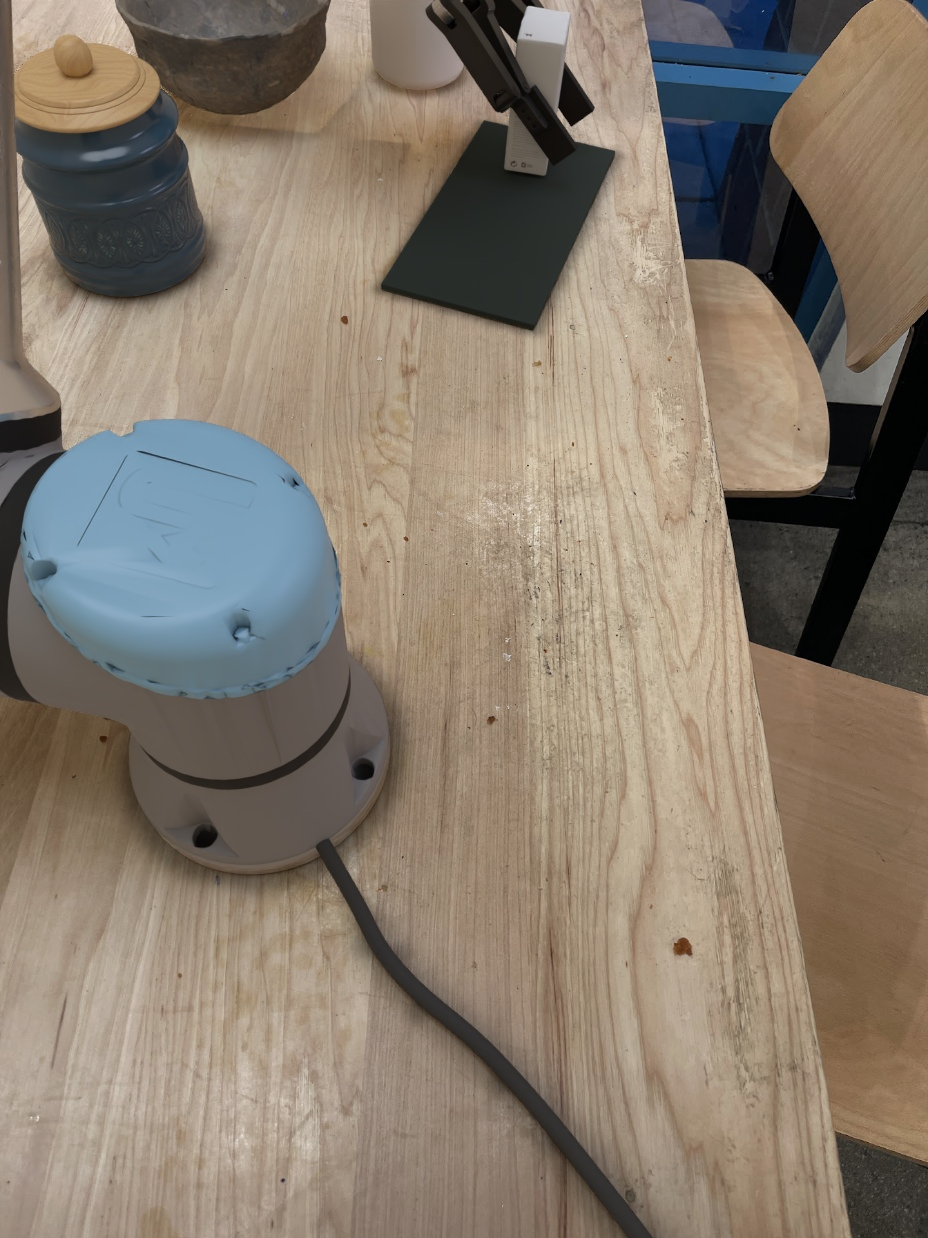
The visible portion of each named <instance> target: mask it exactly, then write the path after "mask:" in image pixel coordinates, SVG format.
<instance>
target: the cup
mask: <svg viewBox="0 0 928 1238" xmlns="http://www.w3.org/2000/svg"><path fill="white" fill-rule="evenodd" d="M433 1H434V0H368V3H369V21H370V23H369V24H370V42H371V43H370V44H371V46H370V47H371V61H372V65H373V67H374V69H375V71H376V72H377V74H378V75H379V76H380V77H381V78H382V79H383V80H385V82H387V83H389V84H391V85H393V86H395V87H398V88H401V89H405V90H411V91H430V90H436V89H439V88H443V87H445V86H446V85H449V84H450V83H452V82H453V81H455V80H456V79H457V78H458V77H459V76H460V75H461V74H462V71H463V69H464V67H465V66H464V64H463V63H462V61H461V60H460V58H459V57H458V55H457V54H456V52H455V51H454V49H453V48H452V46H451V45H450V43H449V42H448V40H447V39H446V37H445V36H444V34H443V33H442V32H441V31H440V30H439V29H438V28H437V27H436V26H435V25H434V24H433V23H432V22H431V21H430V20H429V18H428V17H427V15H426V12H425V9H426V8H427V7H428V6H429V5H430V4H431V3H432V2H433Z"/></svg>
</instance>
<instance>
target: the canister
mask: <svg viewBox="0 0 928 1238" xmlns="http://www.w3.org/2000/svg"><path fill="white" fill-rule="evenodd" d="M53 44H54V45H53V47H50V48H46V49H44V50H42V51H40V52H38V53H36V54H34V55H32V56H31V57H29V58H28V59H27V60H26V61H25V62H23V64H22V65H21V67H20V68H19V69H18V70H17V71H16V72H14V89H15V119H16V149H17V154H18V155H20V156H21V158H22V163H21V176H22V179H23V182H24V184H25V186H26V187H27V188H28V190H29V191H30V193H31V195H32V199H33V200H34V203H35V205H36V207H37V210H38V213H39V216H40V217H41V221H42V222H43V225H44V228H45V229H46V230H45V231H46V232H47V235H48V242H49V246H50V248H51V251H52V252H53V255H54V259H55V260H56V262H57V263H58V264H59V266H60V267H61V268H62V270H63V271H64V273H65V275H66V276H67V277H68V278H69V280H71V281H72V283H74V284H75V285H77V286H79V287H80V288H82V289H84V290H86V291H89V292H92V293H94V294H99V295H103V296H109V297H123V298H124V297H125V298H126V297H139V296H140V297H141V296H146V295H151V294H155V293H158V292H161V291H163V290H167V289H169V288H171V287H173V286H176V285H178V284H179V283H182V281H184V280H185V279H187V278H188V277H189V276H191V275H192V274H193V273H194V272H195V271H196V270H197V269H198V268H199V266H200V265H201V263H202V262H203V259H204V257H205V254H206V250H207V246H206V245H207V243H206V237H207V230H206V225H205V221H204V216H203V214H202V211H201V209H200V208H199V203H198V200H197V196H196V192H195V187H194V183H193V178H192V175H191V170H190V165H189V163H190V162H189V161H190V157H189V151H188V148H187V146H186V143H185V142H184V140H183V139H182V137H180V135H179V134H178V133H177V129H178V125H179V122H180V113H179V108H178V106H177V104H176V102H175V100H174V98H173V97H172V96H171V95H170V94H169V92H167V91H166V90H164V89H163V88H161V85H160V80H159V77H158V74H157V73H156V71H155V70H154V68H153V67H152V66H151V65H149V64H148V63H147V62H145V61H144V60H142V59H140V58H138V56H136V55H133V54H131V53H128V52H127V51H125V50H123V49H121V48H119V47H117V46H113V45H109V44H104V43H100V42H99V43H97V42H85V41H84V40H83V39H82V38H81V37H79V36H77V35H74V34H63V35H61V36H59V37H58V38H57V39H56V40H55V41H54V43H53Z"/></svg>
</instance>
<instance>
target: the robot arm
mask: <svg viewBox="0 0 928 1238" xmlns="http://www.w3.org/2000/svg"><path fill="white" fill-rule="evenodd" d="M12 2H13V1H12V0H0V697H2V698H6V699H10V700H11V699H12V700H15V701H21V702H29V703H34V704H39V705H43V706H48V707H53V708H58V709H62V710H66V711H72V712H76V713H81V714H86V715H89V716H93V717H98V718H104V719H108V720H112V721H115V722H117V723H120V724H123V725H124V726H126V727H127V729H128V730H129V732H130V735H129V746H128V768H129V769H128V770H129V777H130V782H131V786H132V790H133V793H134V795H135V798H136V801H137V803H138V805H139V807H140V809H141V811H142V812H143V814H144V816H145V817H146V818H147V821H148V822H149V824H151V825H152V827H153V828H154V829H155V831H156V832H157V833H158V835H160V836H161V838H162V839H163V840H164V841H165V842H166V843H168V845H169V846H171V848H173V849H174V850H176V851H177V852H178V853H179V854H181V855H182V856H184V857H185V858H188V859H189V860H191V861H193V862H195V863H196V864H199V865H201V866H203V867H206V868H210V869H213V870H216V871H218V872H224V873H229V874H237V875H265V874H274V873H277V872H284V871H287V870H291V869H293V868H297V867H300V866H302V865H305V864H307V863H308V864H309V862H312V861H314V860H317V859H318V858H321V860H322V862H323V864H324V865H325V867H326V869H327V871H328V872H329V874H330V876H331V877H332V879H333V881H334V883H335V885H336V886H337V888H338V890H339V891H340V893H341V896H342V897H343V899H344V900H345V902H346V904H347V906H348V907H349V910H350V912H351V913H352V915H353V917H354V919H355V921H356V924H357V926H358V927H359V929H360V931H361V933H362V935H363V938H364V939H365V941H366V943H367V945H368V946H369V948H370V950H371V952H372V953H373V954H374V956H375V958H376V959H377V960H378V962H379V963H380V965H381V966H382V967H383V968H384V970H385V971H386V972H387V973H388V974H389V975H390V977H391V978H392V980H394V982H395V983H396V984H398V986H399V987H400V989H402V990H403V991H404V992H405V993H406V994H407V995H408V996H409V997H410V998H411V999H412V1000H413V1001H414V1002H415V1003H417V1004H418V1005H419V1006H420V1007H421V1008H422V1009H423V1010H424V1011H426V1012H427V1013H428V1014H429V1015H430V1016H431V1017H433V1019H435V1020H436V1021H437V1022H439V1023H440V1024H441V1025H443V1026H444V1027H445V1028H446V1029H447V1030H448V1031H449V1032H451V1033H452V1034H453V1035H454V1036H455V1037H457V1038H458V1039H459V1040H460V1041H461V1042H463V1044H465V1045H466V1046H467V1047H468V1048H469V1049H470V1050H471V1051H472V1052H473V1053H474V1054H476V1055H477V1056H478V1057H479V1058H480V1059H481V1060H482V1062H483V1063H484V1064H486V1065H487V1067H488V1068H489V1069H490V1070H491V1071H492V1072H493V1073H494V1074H495V1075H496V1076H497V1077H498V1079H500V1081H501V1082H502V1083H503V1084H504V1085H505V1086H506V1087H507V1088H508V1089H509V1091H510V1092H511V1093H512V1094H513V1095H514V1096H515V1097H516V1098H517V1100H519V1102H520V1103H521V1104H522V1105H523V1106H524V1108H525V1109H526V1110H527V1111H528V1112H529V1113H530V1114H531V1115H532V1117H533V1119H535V1121H536V1122H537V1123H538V1124H539V1126H541V1128H542V1129H543V1130H544V1131H545V1133H546V1134H547V1135H548V1136H549V1138H550V1139H551V1140H552V1142H553V1143H554V1144H555V1145H556V1146H557V1147H558V1149H559V1150H560V1151H561V1153H562V1154H563V1155H564V1157H566V1159H567V1160H568V1162H570V1164H571V1165H572V1166H573V1168H574V1169H575V1170H576V1172H577V1173H578V1175H580V1177H581V1178H582V1180H584V1182H585V1184H587V1186H588V1187H589V1188H590V1190H591V1191H592V1192H593V1194H594V1195H595V1197H597V1199H598V1201H600V1202H601V1204H603V1206H604V1208H605V1209H606V1211H607V1212H608V1213H609V1214H610V1215H611V1217H612V1218H613V1219H614V1221H615V1222H616V1223H617V1224H618V1226H619V1227H620V1229H622V1231H623V1232H624V1234H625V1236H627V1238H654V1237H653V1236H652V1233H650V1232H649V1230H648V1229H647V1228H646V1226H645V1224H644V1223H643V1222H642V1221H641V1220H640V1218H639V1217H638V1216H637V1214H636V1213H635V1211H634V1210H632V1208H631V1207H630V1204H628V1203H627V1201H626V1200H625V1199H624V1198H623V1197H622V1195H621V1193H619V1191H618V1190H617V1189H616V1187H615V1186H614V1185H613V1183H612V1182H611V1181H610V1180H609V1179H608V1177H607V1176H606V1175H605V1173H604V1172H603V1171H602V1169H601V1168H600V1167H599V1166H598V1165H597V1163H596V1162H595V1161H594V1160H593V1158H592V1157H591V1156H590V1155H589V1154H588V1153H589V1152H587V1150H585V1148H584V1147H583V1146H582V1144H580V1142H579V1141H578V1139H577V1138H576V1137H575V1136H574V1135H573V1133H572V1132H571V1131H570V1129H569V1128H568V1127H567V1126H566V1124H564V1122H563V1121H562V1120H561V1119H560V1117H559V1116H558V1115H557V1114H556V1112H554V1110H553V1109H552V1108H551V1107H550V1105H549V1104H548V1103H547V1102H546V1101H545V1099H544V1098H543V1097H542V1096H541V1095H540V1094H539V1093H538V1092H537V1090H535V1088H534V1087H533V1086H532V1085H531V1084H530V1082H529V1081H528V1080H527V1079H526V1078H525V1077H524V1076H523V1075H522V1073H521V1072H519V1070H518V1069H517V1068H516V1067H515V1066H514V1065H513V1064H512V1063H511V1062H510V1061H509V1059H508V1058H507V1057H506V1056H505V1055H504V1054H503V1053H502V1052H501V1051H500V1050H499V1049H498V1048H497V1047H496V1046H495V1045H494V1044H493V1043H492V1042H491V1041H490V1040H489V1039H488V1038H487V1037H486V1036H485V1035H483V1034H482V1033H481V1032H480V1030H478V1029H477V1028H476V1027H475V1026H473V1024H471V1023H470V1022H469V1021H467V1020H466V1019H465V1018H464V1017H462V1015H460V1014H459V1013H458V1012H457V1011H456V1010H454V1009H453V1008H452V1007H451V1006H449V1005H448V1004H447V1003H445V1002H444V1001H443V1000H442V999H441V998H439V996H438V995H436V994H435V993H433V991H431V990H430V989H429V988H428V987H427V986H426V985H425V984H424V983H423V982H422V981H421V980H420V979H418V978H417V977H416V975H415V974H414V973H412V972H411V970H410V969H409V968H408V967H407V966H406V965H405V964H404V963H403V961H402V960H401V959H400V958H399V957H398V955H397V954H396V953H395V951H394V950H393V949H392V947H391V946H390V944H388V941H387V940H386V938H385V937H384V935H383V933H382V931H381V929H380V928H379V926H378V924H377V922H376V920H375V918H374V916H373V914H372V912H371V910H370V908H369V906H368V904H367V902H366V900H365V898H364V897H363V894H362V892H361V891H360V890H359V888H358V886H357V884H356V882H355V880H354V879H353V878H352V876H351V874H350V872H349V870H348V868H347V867H346V865H345V863H344V862H343V860H342V858H341V857H340V855H339V853H338V851H337V850H336V847H337V846H338V845H340V844H341V843H342V842H343V841H345V840H346V839H347V838H348V837H349V836H351V834H353V833H354V831H355V830H356V829H357V828H358V827H359V826H360V825H361V824H362V822H363V821H364V820H365V819H366V818H367V816H368V815H369V814H370V812H371V810H372V808H373V807H374V806H375V804H376V803H377V800H378V798H379V796H380V793H381V792H382V789H383V787H384V784H385V781H386V778H387V774H388V770H389V764H390V757H391V734H390V722H389V716H388V711H387V707H386V704H385V701H384V698H383V696H382V694H381V691H380V689H379V687H378V685H377V684H376V682H375V680H374V679H373V677H372V675H371V674H370V673H369V671H368V670H367V669H366V668H365V667H364V665H363V664H362V663H361V662H360V661H359V660H358V659H357V658H356V657H355V656H354V655H353V654H352V653H351V652H350V651H349V650H348V643H347V636H346V635H347V634H346V627H345V620H344V619H345V618H344V613H343V605H342V600H343V594H342V591H341V590H342V589H341V587H342V573H340V572H341V571H340V566H339V565H340V563H339V562H340V561H339V559H338V556H337V552H336V551H337V550H335V547H334V544H333V542H332V539H331V536H330V535H329V532H328V527H327V525H326V521H325V518H324V515H323V512H322V509H321V507H320V505H319V503H318V501H317V499H316V497H315V495H314V494H313V493H312V491H311V490H310V488H309V487H308V486H307V484H306V482H304V479H303V478H302V476H301V475H300V474H299V473H298V471H297V470H296V469H295V468H294V467H293V466H292V465H291V464H290V463H289V462H288V461H286V460H285V458H283V457H282V456H281V455H279V454H278V453H277V452H276V451H274V450H273V449H271V448H270V447H268V446H267V445H266V444H263V443H262V442H260V441H258V440H257V439H255V438H253V437H251V436H249V435H246V434H245V433H242V432H240V431H237V430H235V429H232V428H229V427H225V426H222V425H219V424H216V423H210V422H206V421H202V420H201V421H200V420H196V419H195V420H194V419H185V418H175V419H174V418H157V419H154V418H153V419H145V420H140V421H136V422H133V425H132V431H131V432H129V433H126V434H124V435H121V436H120V435H118V434H117V433H115V432H113V431H112V430H111V429H107V430H103V431H100V432H98V433H95V434H93V435H90V436H89V437H88V438H86V439H84V440H82V441H80V442H78V443H77V444H75V445H73V446H72V447H70V448H69V449H65V448H64V446H63V430H62V429H63V427H62V426H63V425H62V398H61V393H60V392H59V391H58V390H57V389H56V388H55V387H54V386H53V385H52V384H51V383H50V382H49V381H48V380H47V379H46V378H45V377H44V376H43V375H42V374H41V373H40V372H39V371H38V370H37V368H35V367H34V366H33V365H32V363H30V361H29V360H28V358H27V356H26V355H25V353H24V335H23V331H24V330H23V305H22V273H21V272H22V271H21V246H20V245H21V244H20V243H21V242H20V241H21V240H20V216H19V215H20V212H19V211H20V210H19V183H18V182H19V181H18V155H17V154H18V153H17V149H16V119H15V89H14V74H15V65H14V64H15V61H14V36H13V34H14V33H13V5H12V4H13V3H12ZM527 6H532V7H538V8H544V9H546V8H545V6H544V5H543V4H542V2H541V0H434V1H433V2H432V3H431V4H430V5H429V6H428V7H427V8H426V9H425V12H426V15H427V17H428V18H429V20H430V21H431V22H432V23H433V24H434V25H435V26H436V27H437V28H438V29H439V30H440V31H441V32H442V33H443V34H444V36H445V37H446V39H447V40H448V42H449V43H450V45H451V46H452V48H453V49H454V51H455V52H456V54H457V55H458V57H459V58H460V60H461V61H462V63H463V64H464V67H465V69H466V70H467V72H468V73H469V75H470V76H471V78H472V79H473V81H474V82H475V83H476V85H477V87H478V88H479V90H480V91H481V93H482V94H483V96H484V98H485V99H486V100H487V102H488V103H489V105H490V106H491V107H492V109H493V111H494V112H496V113H500V114H504V113H505V112H507V111H508V110H510V108H512V109H513V110H514V112H515V113H516V115H517V116H518V117H519V119H520V120H521V122H522V123H523V124H524V126H525V127H526V129H527V130H528V131H529V133H530V134H531V136H532V137H533V138H534V140H535V141H536V143H537V144H538V145H539V147H540V148H541V150H542V151H543V152H544V154H545V155H546V157H547V158H548V159H549V161H550V162H551V164H552V165H553V166H554V165H556V164H557V163H559V162H560V161H562V160H563V159H565V158H566V157H568V156H569V155H570V154H572V153H573V152H575V151H576V150H577V147H578V146H577V144H576V143H575V141H576V140H574V138H573V137H572V135H571V134H570V132H569V131H568V130H567V128H566V126H565V125H564V124H563V121H561V119H560V118H559V117H558V114H557V115H556V114H555V112H554V111H553V109H552V108H551V106H550V105H549V103H548V102H547V100H546V99H545V98H544V96H543V95H542V93H541V92H540V90H539V89H538V87H537V86H536V85H534V86H533V87H532V88H530V86H529V84H528V82H527V80H526V78H525V76H524V74H523V72H522V70H521V68H520V66H519V64H518V62H517V60H516V58H515V53H514V51H513V50H512V48H511V46H510V44H509V42H508V40H507V38H506V36H505V34H507V36H508V37H509V38H510V39H511V40H512V41H513V43H515V44H516V45H517V38H518V34H519V31H520V27H521V22H522V20H523V18H524V14H525V11H526V8H527ZM503 31H504V32H505V33H504V32H503ZM595 108H596V107H595V105H594V104H593V102H592V100H591V99H590V98H589V96H588V94H587V93H586V91H585V90H584V88H583V86H582V85H581V83H579V81H578V79H577V77H576V76H575V75H574V73H573V72H572V70H571V69H570V67H569V66H568V64H567V62H566V61H565V62H564V69H563V76H562V83H561V90H560V97H559V103H558V110H559V111H560V113H561V115H562V116H563V118H564V119H565V120H566V122H567V123H568V125H569V126H570V128H572V127H574V126H575V125H576V124H578V123H579V122H580V121H582V120H583V119H585V118H586V117H588V116H589V115H591V114H592V113H593V112H594V111H595Z"/></svg>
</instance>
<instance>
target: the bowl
mask: <svg viewBox="0 0 928 1238" xmlns="http://www.w3.org/2000/svg"><path fill="white" fill-rule="evenodd" d="M331 2H332V0H114V3H115V9H116V10H117V12H118V13H119V15H120V17H121V18H122V20H123V22H124V23H125V25H126V26H127V28H128V30H129V33H130V35H131V37H132V40H133V45H134V49H135V52H136V55H137V56H136V57H138V58H140V59H142V60H144V61H145V62H147V63H148V64H149V65H151V66H152V67H153V68H154V70H155V71H156V73H157V74H158V77H159V80H160V87H162V88H164V89H165V91H166V92H168V93H170V94H172V95H173V96H175V97H176V98H177V99H179V100H182V101H183V102H184V103H187V104H188V105H190V106H192V107H194V108H197V109H200V110H203V111H207V112H209V113H213V114H217V115H227V116H245V115H251V114H258V113H260V112H263V111H266V110H268V109H270V108H272V107H274V106H276V105H277V104H279V103H281V102H283V101H285V100H286V99H288V98H289V97H290V96H291V95H292V94H294V93H296V92H297V90H298V89H299V88H300V87H301V86H302V85H303V84H304V83H305V82H306V81H307V79H309V78H310V76H312V74H313V72H314V71H315V69H316V67H317V65H318V64H319V62H320V61H321V59H322V56H323V54H324V52H325V50H326V47H327V27H326V23H327V17H328V15H327V14H328V12H329V9H330V6H331Z"/></svg>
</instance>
